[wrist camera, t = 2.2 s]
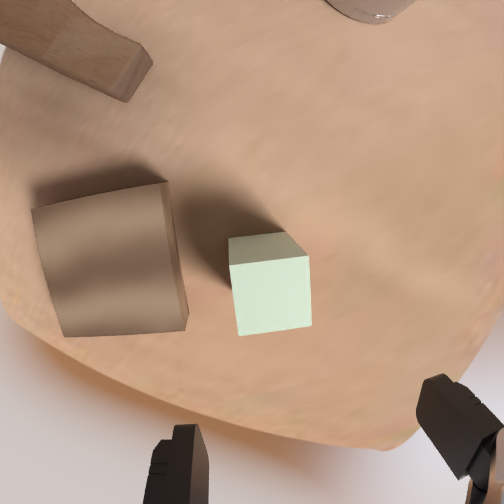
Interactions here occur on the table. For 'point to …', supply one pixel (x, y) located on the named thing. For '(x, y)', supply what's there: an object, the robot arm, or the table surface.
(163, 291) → the brown tapered block
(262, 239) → the green block
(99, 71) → the wooden block
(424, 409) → the robot arm
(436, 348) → the table surface
